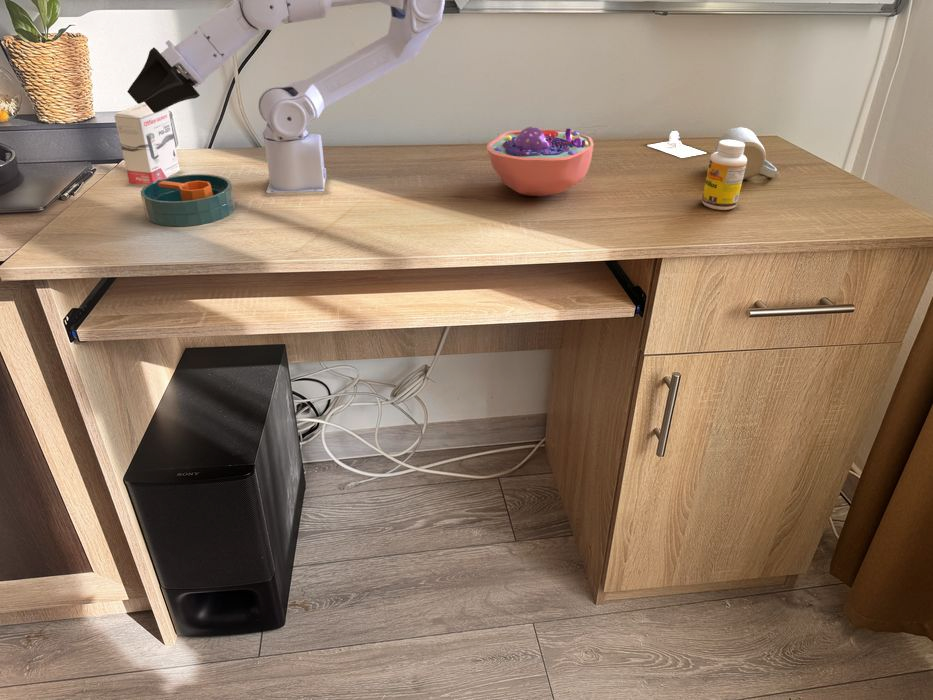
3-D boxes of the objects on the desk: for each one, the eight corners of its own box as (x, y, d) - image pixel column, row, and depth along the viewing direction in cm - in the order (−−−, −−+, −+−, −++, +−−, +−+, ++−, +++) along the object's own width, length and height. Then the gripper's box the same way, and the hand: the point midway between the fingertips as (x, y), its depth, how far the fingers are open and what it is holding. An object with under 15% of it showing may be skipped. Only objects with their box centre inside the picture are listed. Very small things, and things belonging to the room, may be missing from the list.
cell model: (612, 188, 119) (621, 122, 113) (542, 218, 106) (547, 145, 100) (536, 167, 128) (540, 105, 122) (463, 192, 116) (464, 124, 110)
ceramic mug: (721, 180, 123) (731, 137, 119) (710, 166, 130) (719, 125, 125) (781, 183, 122) (793, 140, 118) (766, 169, 129) (778, 128, 125)
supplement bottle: (695, 199, 114) (708, 138, 109) (728, 199, 115) (741, 137, 109) (708, 211, 110) (721, 148, 104) (741, 211, 110) (756, 147, 105)
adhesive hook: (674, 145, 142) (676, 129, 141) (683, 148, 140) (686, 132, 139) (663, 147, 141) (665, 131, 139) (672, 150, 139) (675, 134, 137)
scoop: (221, 208, 107) (216, 182, 104) (204, 218, 103) (198, 191, 101) (175, 202, 109) (169, 176, 106) (157, 212, 105) (150, 185, 103)
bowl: (241, 197, 112) (236, 173, 110) (228, 227, 101) (223, 200, 99) (158, 200, 111) (152, 175, 109) (137, 231, 100) (130, 204, 98)
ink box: (155, 187, 116) (138, 116, 110) (128, 185, 117) (110, 114, 110) (183, 172, 123) (168, 104, 117) (157, 170, 124) (142, 102, 118)
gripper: (204, 36, 108) (137, 90, 108) (179, 5, 94) (103, 68, 93) (235, 73, 109) (169, 127, 109) (215, 49, 95) (140, 111, 95)
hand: (141, 102), depth 101 cm, fingers open, 7 cm apart
